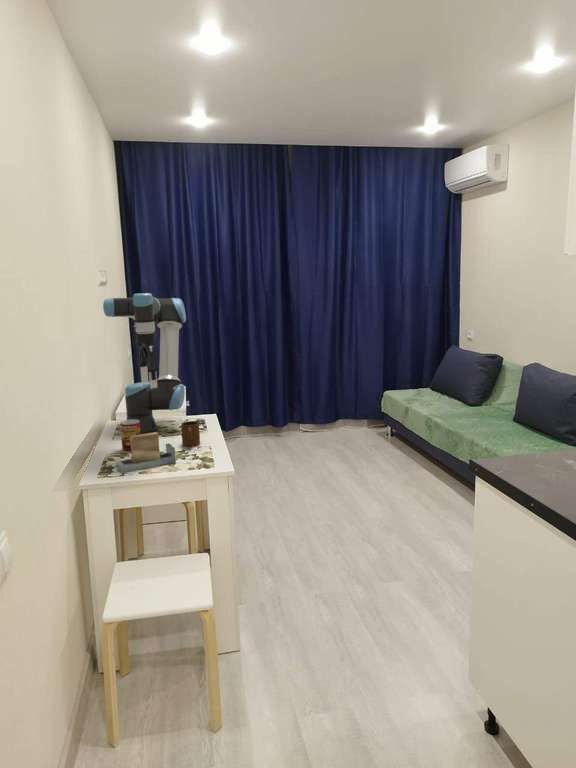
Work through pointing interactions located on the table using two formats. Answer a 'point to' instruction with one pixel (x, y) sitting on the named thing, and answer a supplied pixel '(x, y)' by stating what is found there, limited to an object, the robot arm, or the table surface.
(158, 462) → the track
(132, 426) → the canned food
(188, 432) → the mug
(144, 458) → the door panel
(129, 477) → the table surface
